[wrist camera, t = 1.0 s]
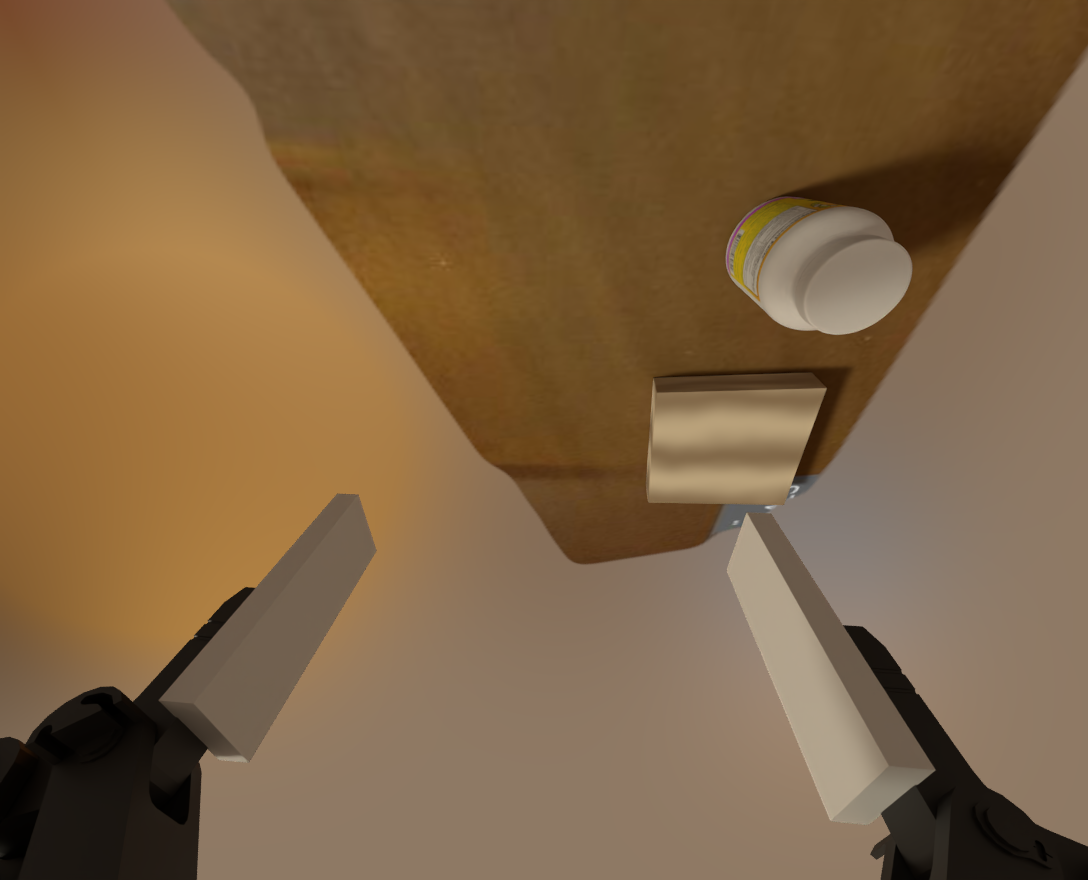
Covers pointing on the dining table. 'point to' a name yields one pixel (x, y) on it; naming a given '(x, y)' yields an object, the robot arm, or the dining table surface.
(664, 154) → the dining table surface
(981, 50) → the dining table surface
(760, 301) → the supplement bottle
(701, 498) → the birch stand
